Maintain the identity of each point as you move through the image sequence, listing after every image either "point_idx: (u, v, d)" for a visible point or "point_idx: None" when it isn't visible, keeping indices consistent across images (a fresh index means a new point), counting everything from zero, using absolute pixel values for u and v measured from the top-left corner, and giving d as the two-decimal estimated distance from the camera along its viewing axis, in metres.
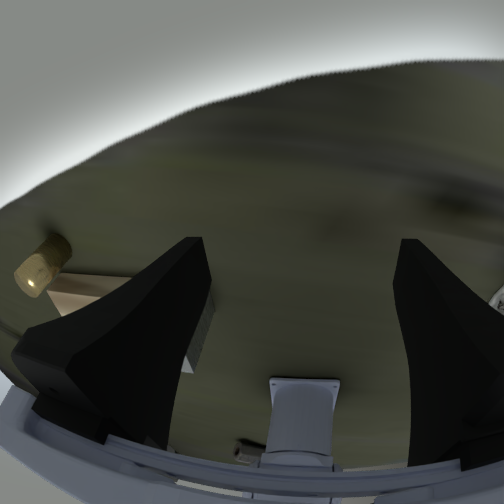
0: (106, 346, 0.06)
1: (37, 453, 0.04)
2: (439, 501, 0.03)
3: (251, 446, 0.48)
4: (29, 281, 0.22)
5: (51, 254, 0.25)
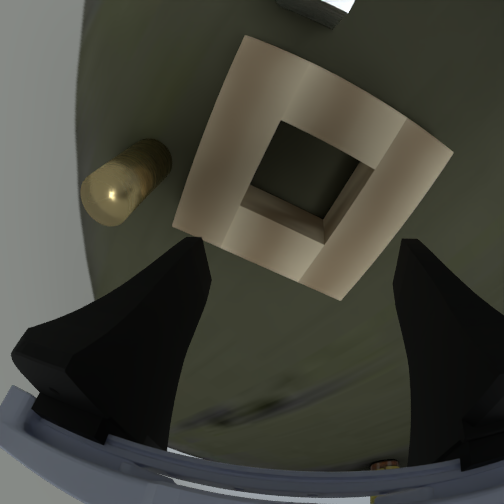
0: (106, 346, 0.06)
1: (37, 453, 0.04)
2: (439, 501, 0.03)
3: None
4: (98, 181, 0.15)
5: (126, 151, 0.17)
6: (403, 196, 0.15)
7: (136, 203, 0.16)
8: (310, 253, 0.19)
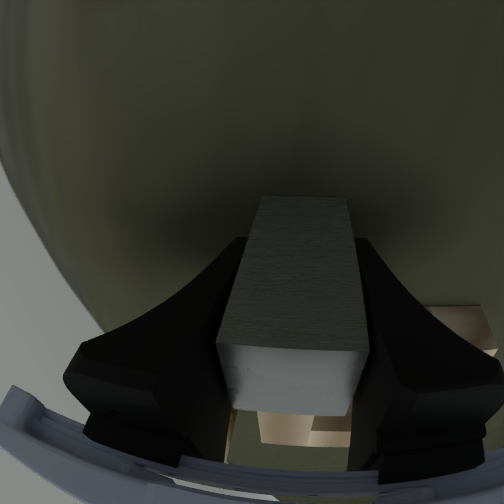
0: (186, 360, 0.06)
1: (37, 453, 0.04)
2: (439, 501, 0.03)
3: None
4: None
5: None
6: None
7: (226, 455, 0.17)
8: None
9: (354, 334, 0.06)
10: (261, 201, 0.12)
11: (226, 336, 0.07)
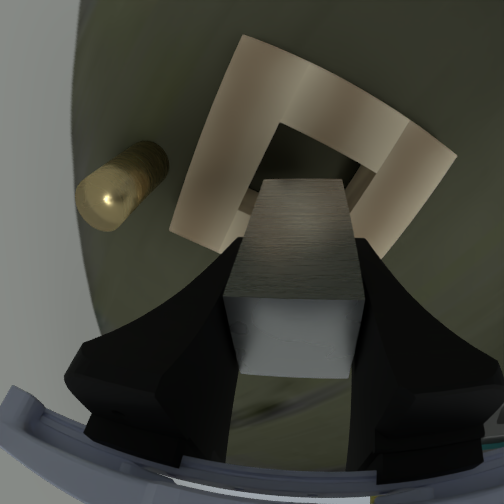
0: (188, 360, 0.06)
1: (37, 453, 0.04)
2: (439, 501, 0.03)
3: None
4: (93, 186, 0.14)
5: (121, 153, 0.17)
6: (405, 200, 0.15)
7: (132, 208, 0.16)
8: None
9: (350, 286, 0.07)
10: (263, 184, 0.12)
11: (232, 291, 0.07)
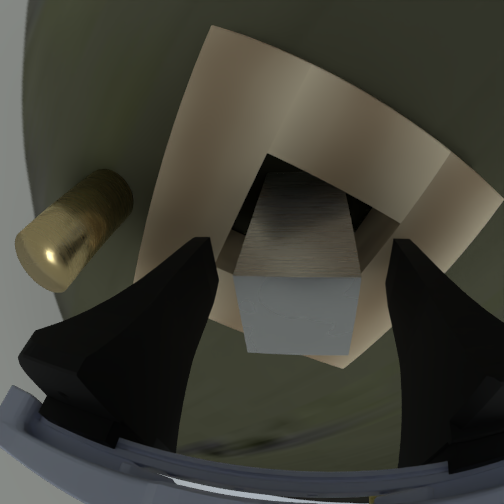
0: (117, 348, 0.06)
1: (37, 453, 0.04)
2: (439, 501, 0.03)
3: None
4: (30, 241, 0.10)
5: (71, 190, 0.13)
6: (434, 256, 0.11)
7: (80, 265, 0.12)
8: None
9: (348, 265, 0.08)
10: (266, 177, 0.13)
11: (241, 271, 0.08)
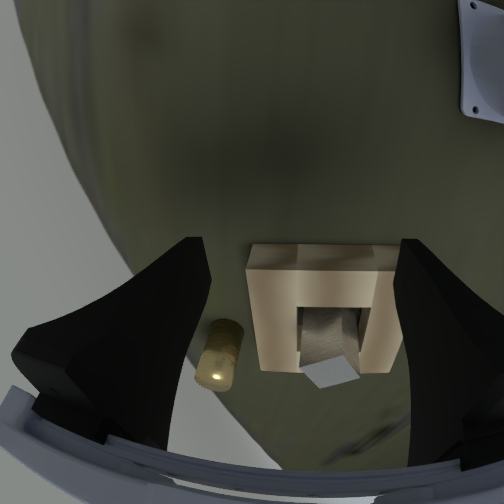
0: (106, 346, 0.06)
1: (37, 453, 0.04)
2: (439, 501, 0.03)
3: None
4: (204, 375, 0.24)
5: (210, 340, 0.27)
6: None
7: (233, 375, 0.25)
8: None
9: (338, 350, 0.19)
10: None
11: (301, 364, 0.20)
